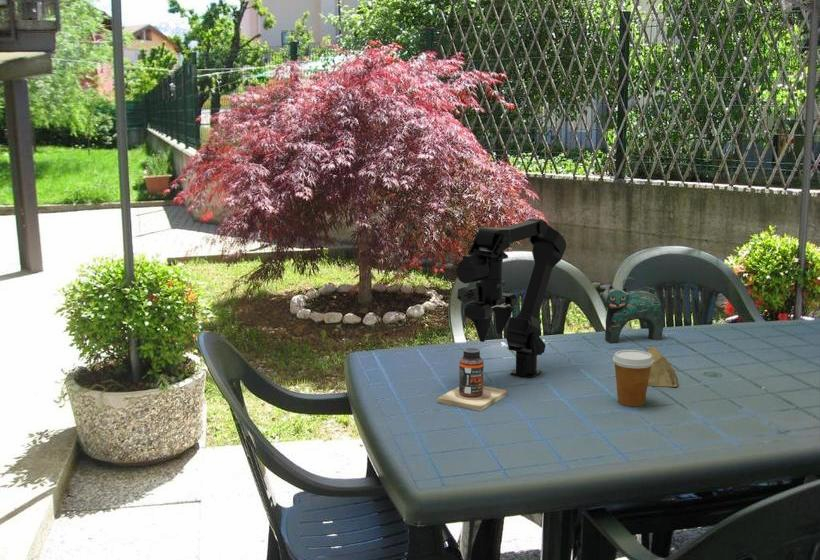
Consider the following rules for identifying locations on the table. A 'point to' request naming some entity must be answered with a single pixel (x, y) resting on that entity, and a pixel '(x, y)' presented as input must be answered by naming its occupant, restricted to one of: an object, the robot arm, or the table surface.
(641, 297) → the ceramic cat
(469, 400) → the board
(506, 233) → the robot arm
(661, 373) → the rock
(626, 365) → the disposable coffee cup
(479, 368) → the supplement bottle
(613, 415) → the table surface
